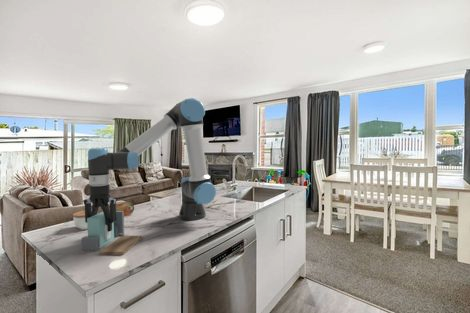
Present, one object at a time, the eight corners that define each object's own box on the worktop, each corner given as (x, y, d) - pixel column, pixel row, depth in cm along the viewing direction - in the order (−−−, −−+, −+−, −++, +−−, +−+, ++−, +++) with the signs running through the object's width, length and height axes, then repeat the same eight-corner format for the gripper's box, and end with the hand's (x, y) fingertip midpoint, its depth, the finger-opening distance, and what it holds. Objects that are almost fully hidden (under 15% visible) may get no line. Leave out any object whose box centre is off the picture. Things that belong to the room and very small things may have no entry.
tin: (108, 220, 132) (107, 205, 132) (106, 219, 134) (105, 204, 134) (134, 214, 144) (134, 200, 143) (132, 213, 146) (131, 200, 145)
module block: (114, 238, 107) (113, 211, 107) (100, 247, 97) (98, 218, 97) (103, 237, 108) (102, 211, 107) (88, 247, 98) (87, 218, 97)
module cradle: (124, 234, 111) (123, 211, 111) (101, 250, 94) (100, 223, 94) (104, 234, 112) (103, 211, 111) (77, 250, 95) (75, 223, 94)
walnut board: (142, 238, 106) (142, 235, 106) (122, 254, 90) (122, 251, 90) (122, 238, 107) (122, 235, 107) (100, 254, 91) (100, 251, 91)
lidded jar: (87, 223, 128) (86, 206, 128) (103, 224, 125) (102, 207, 125) (68, 230, 118) (67, 211, 118) (85, 232, 115) (84, 213, 115)
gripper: (72, 186, 98) (75, 241, 99) (114, 186, 97) (117, 242, 98) (85, 183, 106) (87, 234, 107) (124, 183, 104) (126, 235, 105)
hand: (101, 238), depth 102 cm, fingers closed on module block, 5 cm apart
